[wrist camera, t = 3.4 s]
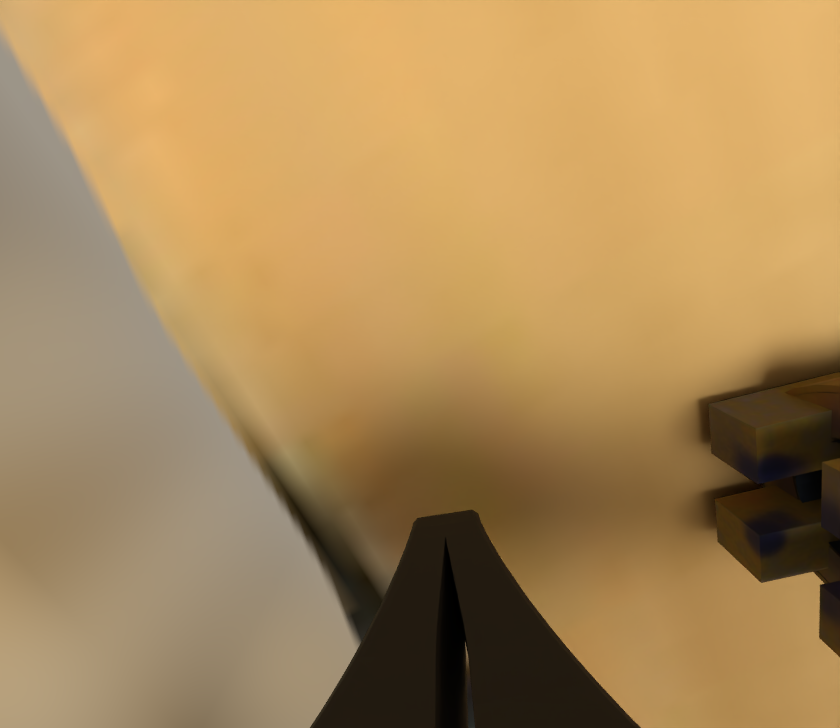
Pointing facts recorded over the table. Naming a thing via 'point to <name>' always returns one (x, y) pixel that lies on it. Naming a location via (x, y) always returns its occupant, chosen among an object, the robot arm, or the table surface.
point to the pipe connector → (785, 486)
